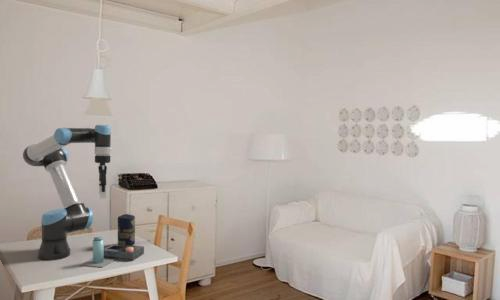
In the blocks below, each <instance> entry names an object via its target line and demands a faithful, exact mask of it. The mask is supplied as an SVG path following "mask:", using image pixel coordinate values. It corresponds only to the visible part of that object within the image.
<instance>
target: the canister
mask: <svg viewBox="0 0 500 300" xmlns="http://www.w3.org/2000/svg"><path fill="white" fill-rule="evenodd" d="M135 242H136V217H135V215H133V214H127V213H126V214H122V215H119V216H118V217H117V244H121V245H133V246H135Z"/></svg>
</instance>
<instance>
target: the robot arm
mask: <svg viewBox="0 0 500 300" xmlns="http://www.w3.org/2000/svg"><path fill="white" fill-rule="evenodd" d="M111 134H112V132H111V126H110V125H109V124H96V125H94V127H92V128H91V127H84V128H83V127H82V128H81V127H80V128H78V127H77V128H76V127H60V128H57V129H55V131H54V133H53V134H52V135H51V136H49V137H47V138H45V139H43V140H42V141H40V142H37V143H33V144H30V145H28V146H27V147H25V148H24V150H23V151H22V158H23V161H24V162H25V163H26V164H27V165H29V166H32V167H44V170H45V172H47V173H49V174H50V177H51V179H52V182H53V184H54V187H55V189H56V191H57V194H58V196H59V199H60V200H61V204H62V206H63V208H58V209H52V210H51V209H50V210H48V211H46V212H44V213H43V214H42V215H41V221H40V223H41V244H40V246H39V250H38V252H37V257H38V259H39V260H43V261H45V260H46V261H51V260H53V261H54V260H55V261H56V260H61V259H64V258H68V256H70V255H71V248H70V246H69V243H68V240H67V237H68V235H67V234H71V233H76V232H79V231H80V232H81V231H84V230H87V229H89V228H90V227H91V226H92V225H93V223H94V211H93V210H92V208H90V207H87V206H86V205H85V202H83V201H80V199H79V197H78V193H77V192H76V190H75V189H76V188H75V187H74V185H73V183H72V179H71V178H70V175H69V173H68V170H67V168H66V167H67V163H68V161H69V157H68V156H69V153H68V152H67V150H66V148H65V146H67V145H70V144H88V143H89V144H92V143H93V144H94V155H95V156H94V163H95V164H98V173H99V174H98V195H99V196H100V197H99V198H100V199H107V169H108V167H107V165H106V164H109V163H111V151H112V148H111Z"/></svg>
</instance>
